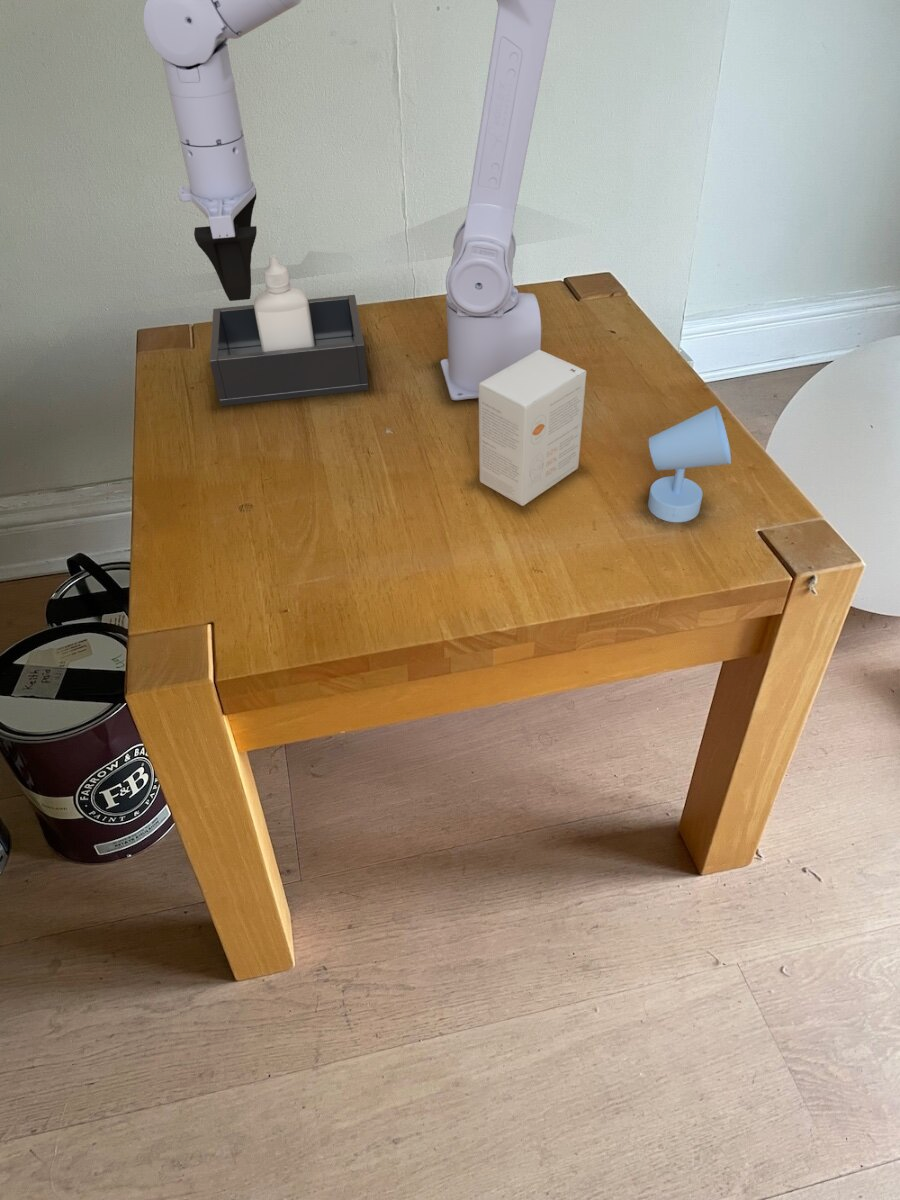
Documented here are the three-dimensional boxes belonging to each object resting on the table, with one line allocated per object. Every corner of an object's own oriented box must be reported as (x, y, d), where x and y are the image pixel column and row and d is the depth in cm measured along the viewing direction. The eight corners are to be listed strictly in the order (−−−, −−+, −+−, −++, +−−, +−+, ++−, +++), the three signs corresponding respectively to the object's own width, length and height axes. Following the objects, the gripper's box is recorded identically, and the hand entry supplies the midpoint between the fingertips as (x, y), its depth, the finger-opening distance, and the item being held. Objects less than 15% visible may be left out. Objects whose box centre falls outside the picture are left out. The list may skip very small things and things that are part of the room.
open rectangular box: (359, 338, 102) (354, 294, 99) (369, 390, 94) (364, 344, 90) (223, 352, 101) (213, 308, 97) (220, 406, 93) (209, 360, 89)
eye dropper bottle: (305, 378, 95) (288, 268, 86) (259, 370, 96) (237, 261, 88) (323, 358, 98) (308, 250, 89) (278, 351, 99) (258, 244, 91)
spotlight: (718, 493, 80) (640, 486, 81) (740, 396, 73) (655, 389, 74) (719, 528, 76) (638, 520, 77) (743, 429, 69) (653, 422, 70)
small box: (534, 446, 86) (539, 346, 79) (579, 469, 83) (589, 368, 76) (477, 482, 82) (476, 381, 75) (522, 508, 79) (525, 406, 72)
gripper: (172, 116, 85) (203, 255, 95) (160, 167, 75) (196, 318, 84) (246, 110, 86) (269, 249, 95) (245, 161, 76) (271, 311, 85)
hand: (240, 281), depth 90 cm, fingers open, 7 cm apart
